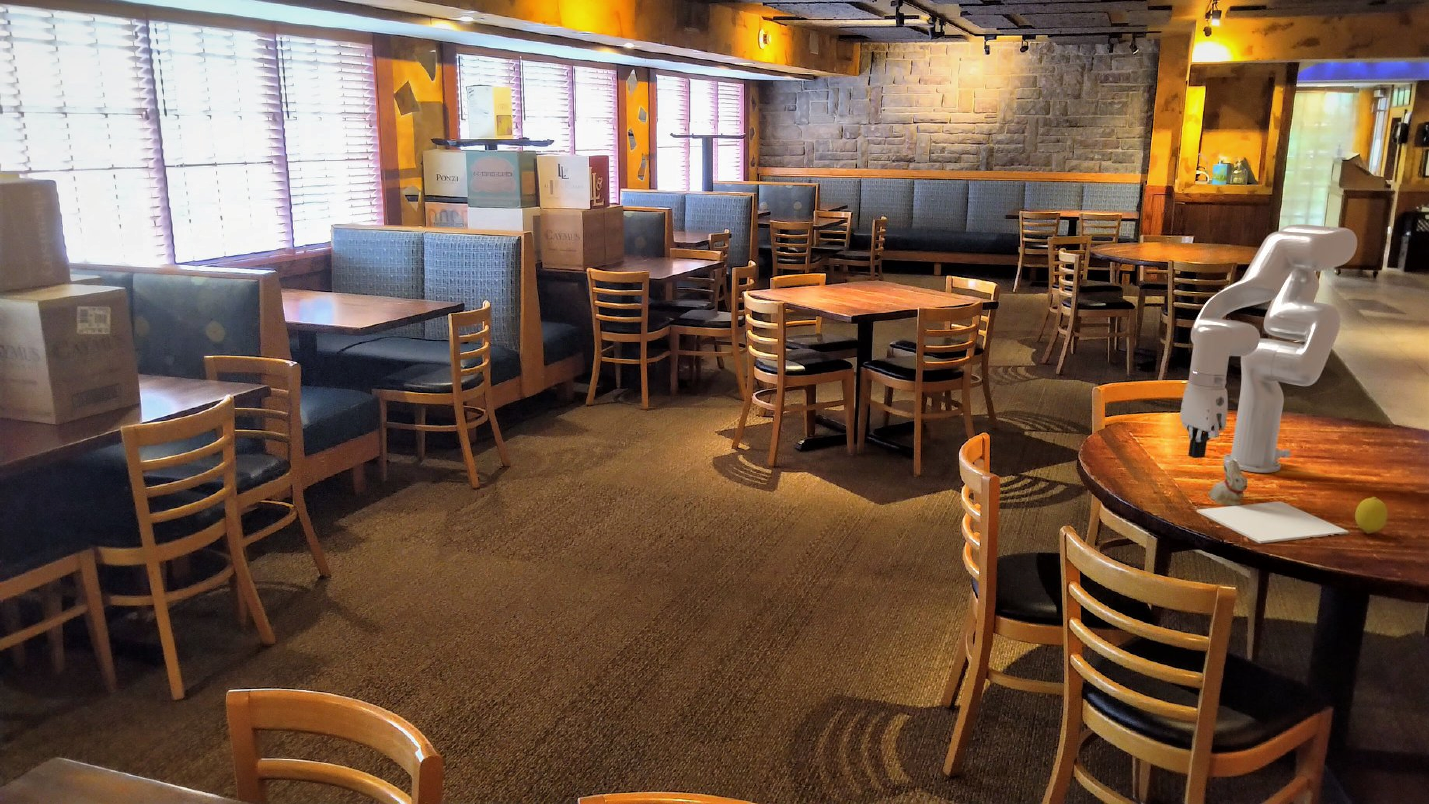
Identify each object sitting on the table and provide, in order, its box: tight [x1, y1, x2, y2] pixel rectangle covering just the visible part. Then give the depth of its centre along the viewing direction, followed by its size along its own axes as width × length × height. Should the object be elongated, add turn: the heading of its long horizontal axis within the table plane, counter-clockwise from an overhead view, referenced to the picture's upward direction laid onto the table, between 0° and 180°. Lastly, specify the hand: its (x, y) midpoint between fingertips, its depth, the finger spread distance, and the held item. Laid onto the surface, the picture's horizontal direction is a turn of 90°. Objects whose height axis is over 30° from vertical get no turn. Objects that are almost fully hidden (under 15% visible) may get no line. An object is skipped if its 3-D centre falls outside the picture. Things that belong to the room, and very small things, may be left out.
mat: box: [1196, 501, 1349, 544], centre depth 217 cm, size 22×18×1 cm
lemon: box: [1354, 496, 1388, 535], centre depth 211 cm, size 6×6×8 cm
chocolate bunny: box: [1208, 460, 1248, 507], centre depth 228 cm, size 6×8×10 cm
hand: (1196, 456), depth 238 cm, fingers closed
